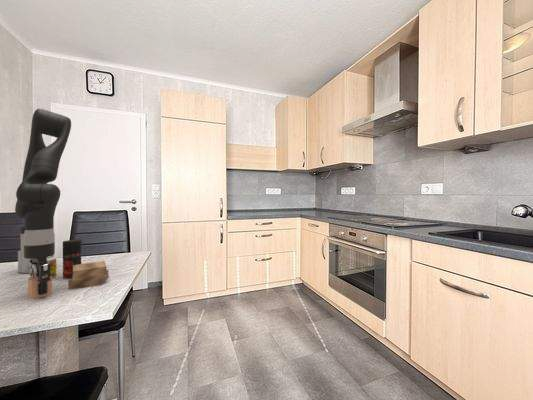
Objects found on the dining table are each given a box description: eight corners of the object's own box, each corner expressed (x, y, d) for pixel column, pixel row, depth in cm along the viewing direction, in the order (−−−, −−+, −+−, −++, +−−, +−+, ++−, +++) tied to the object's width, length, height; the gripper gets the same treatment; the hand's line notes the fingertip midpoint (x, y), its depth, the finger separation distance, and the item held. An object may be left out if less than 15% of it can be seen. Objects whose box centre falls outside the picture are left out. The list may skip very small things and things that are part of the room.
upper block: (72, 281, 83) (72, 271, 83) (73, 274, 91) (73, 265, 91) (106, 275, 89) (106, 266, 89) (104, 269, 97) (104, 260, 97)
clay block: (31, 299, 75) (31, 281, 75) (27, 295, 78) (27, 278, 78) (52, 294, 79) (51, 276, 79) (47, 291, 82) (47, 274, 82)
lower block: (68, 290, 84) (68, 280, 84) (79, 281, 93) (79, 272, 93) (101, 286, 87) (101, 277, 87) (108, 277, 97) (108, 269, 97)
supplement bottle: (36, 281, 91) (35, 255, 91) (39, 277, 96) (39, 252, 96) (54, 278, 94) (54, 253, 94) (57, 274, 99) (57, 251, 99)
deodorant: (84, 275, 99) (84, 240, 99) (68, 279, 93) (68, 242, 93) (75, 273, 101) (75, 239, 101) (59, 278, 95) (59, 241, 95)
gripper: (61, 243, 77) (61, 292, 78) (48, 238, 86) (48, 284, 86) (29, 246, 71) (29, 301, 71) (18, 242, 79) (19, 290, 79)
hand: (39, 291), depth 78 cm, fingers open, 6 cm apart
